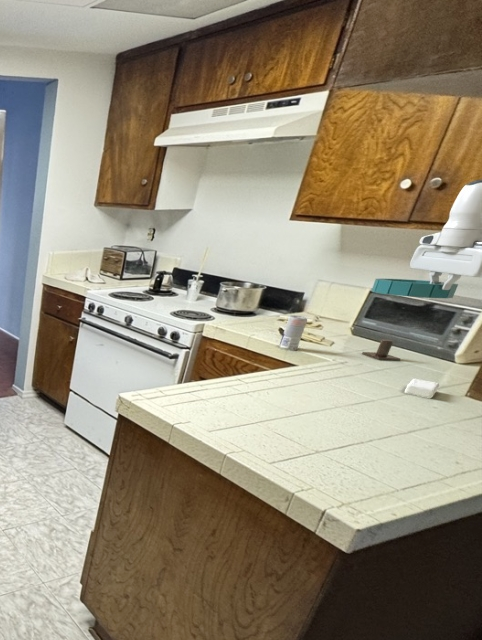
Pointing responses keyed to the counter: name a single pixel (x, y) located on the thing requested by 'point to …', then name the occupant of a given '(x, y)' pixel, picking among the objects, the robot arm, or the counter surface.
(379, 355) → the peg stand
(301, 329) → the energy drink
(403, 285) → the ring
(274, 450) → the counter surface
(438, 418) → the counter surface
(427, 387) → the soap
